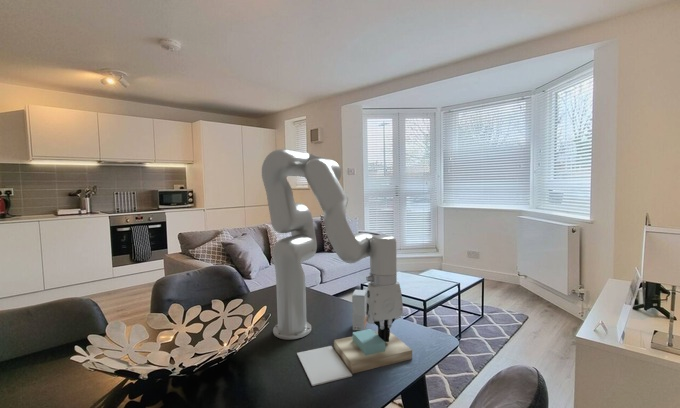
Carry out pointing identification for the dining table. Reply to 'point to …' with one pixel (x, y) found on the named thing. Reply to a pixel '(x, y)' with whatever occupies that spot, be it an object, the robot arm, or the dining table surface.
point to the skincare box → (359, 310)
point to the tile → (368, 341)
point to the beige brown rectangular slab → (362, 362)
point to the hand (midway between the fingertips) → (383, 340)
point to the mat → (323, 365)
